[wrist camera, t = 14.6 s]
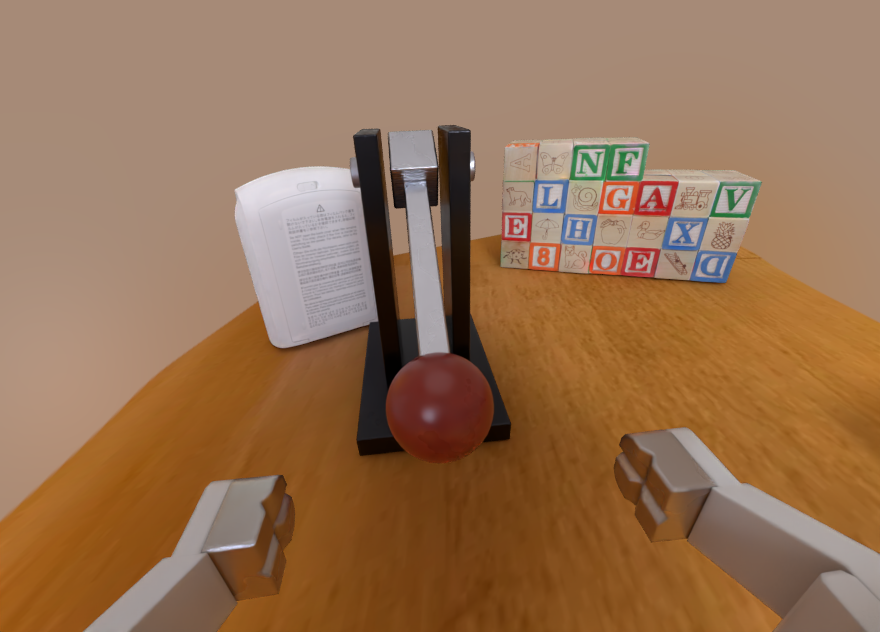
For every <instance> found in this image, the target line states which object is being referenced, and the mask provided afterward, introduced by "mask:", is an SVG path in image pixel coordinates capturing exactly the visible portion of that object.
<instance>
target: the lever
mask: <svg viewBox="0 0 880 632" xmlns="http://www.w3.org/2000/svg"><path fill="white" fill-rule="evenodd" d="M388 144H389V158H390V173H391V182H392V191H393V199H394V207H395V208H406V219H407V230H408V241H409V253H410V264H411V275H412V286H413V297H414V308H415V320H416V331H417V342H418V353H419V357H417V358H415V359H413V360H411V361H410V362H409V363H407V364H406V365H405V366H404V367H403V368H402V369H401V370H400V371H399V372H398V373H397V375H396V376H395V378H394V379H393V381H392V383H391V385H390V388H389V391H388V394H387V399H386V416H387V421H388V425H389V428H390V430H391V433H392V434H393V436H394V438H395V439H396V441H397V442H398V443H399V445H400V446H401V447H402V448H403V449H404V450H405V451H407V452H408V453H409V454H410V455H412V456H414V457H416V458H418V459H420V460H423V461H426V462H430V463H449V462H454V461H457V460H460V459H462V458H464V457H466V456H467V455H469V454H470V453H472V452H473V451H474V450H475V449H476V448H478V447H479V445H480V444H481V443H482V442H483V441H484V439H485V437H486V436H487V434H488V432H489V430H490V427H491V423H492V420H493V414H494V402H493V396H492V392H491V389H490V386H489V383H488V382H487V380H486V378H485V377H484V375H483V374H482V373H481V371H480V370H479V369H478V368H477V367H476V366H475V365H474V364H472V363H471V362H470V361H468V360H467V359H465V358H463V357H461V356H458V355H455V354H451V353H450V347H449V340H448V332H447V325H446V318H445V310H444V303H443V296H442V288H441V281H440V274H439V266H438V259H437V252H436V245H435V237H434V230H433V223H432V215H431V208H430V206H437V205H438V171H439V166H438V161H437V154H436V148H435V142H434V136H433V131H432V130H422V131H421V130H420V131H399V132H389V133H388Z"/></svg>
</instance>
